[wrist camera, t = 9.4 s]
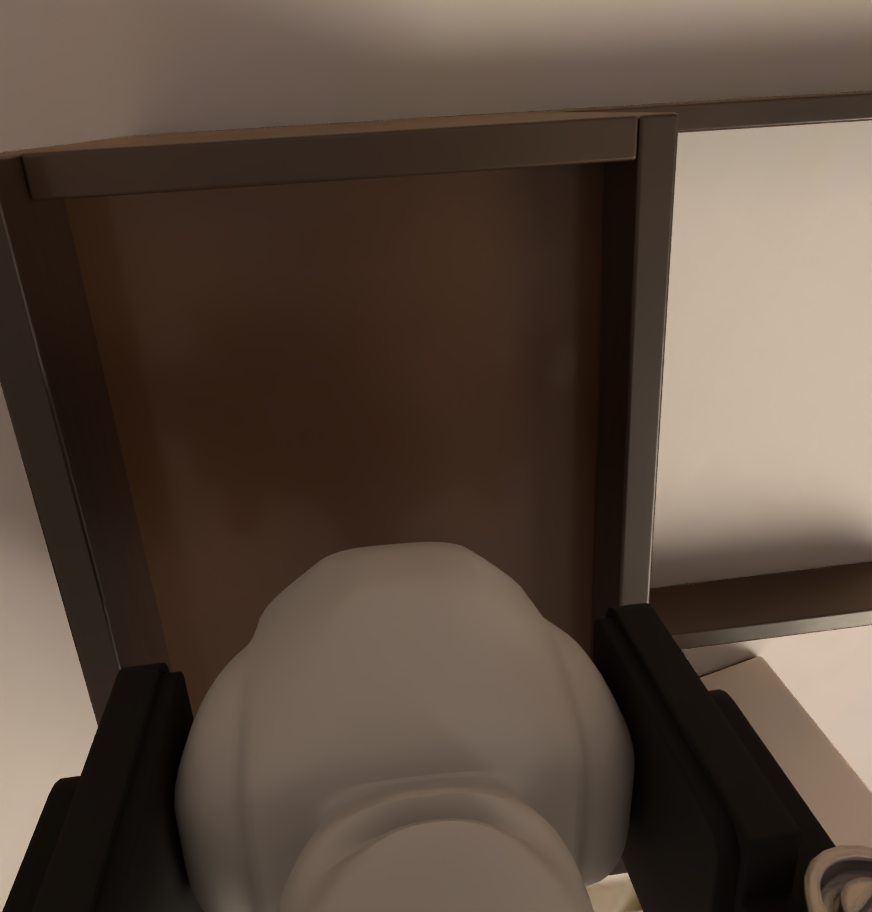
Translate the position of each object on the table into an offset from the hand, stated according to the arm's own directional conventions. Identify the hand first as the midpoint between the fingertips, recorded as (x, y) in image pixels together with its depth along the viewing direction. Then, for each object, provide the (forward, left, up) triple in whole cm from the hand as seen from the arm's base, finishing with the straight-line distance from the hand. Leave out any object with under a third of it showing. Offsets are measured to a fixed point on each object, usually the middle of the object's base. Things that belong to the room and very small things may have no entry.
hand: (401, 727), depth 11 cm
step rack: (0, +6, -12) cm, 14 cm away
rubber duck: (0, 0, -1) cm, 1 cm away
